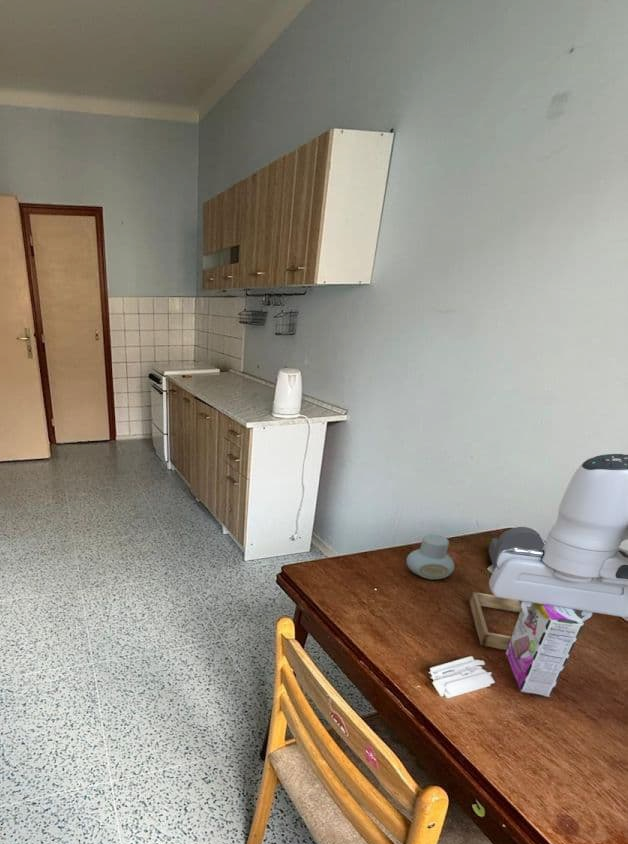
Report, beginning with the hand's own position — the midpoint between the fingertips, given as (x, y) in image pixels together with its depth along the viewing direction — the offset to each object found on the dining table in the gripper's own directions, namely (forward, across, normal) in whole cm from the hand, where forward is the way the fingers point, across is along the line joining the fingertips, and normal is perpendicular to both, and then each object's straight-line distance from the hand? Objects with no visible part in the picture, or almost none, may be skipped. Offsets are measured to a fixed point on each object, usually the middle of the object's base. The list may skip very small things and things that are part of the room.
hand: (546, 624), depth 82 cm
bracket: (+13, +7, +47) cm, 49 cm away
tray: (+13, 0, +16) cm, 21 cm away
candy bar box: (+12, 0, 0) cm, 12 cm away
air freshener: (+13, -14, +36) cm, 41 cm away
